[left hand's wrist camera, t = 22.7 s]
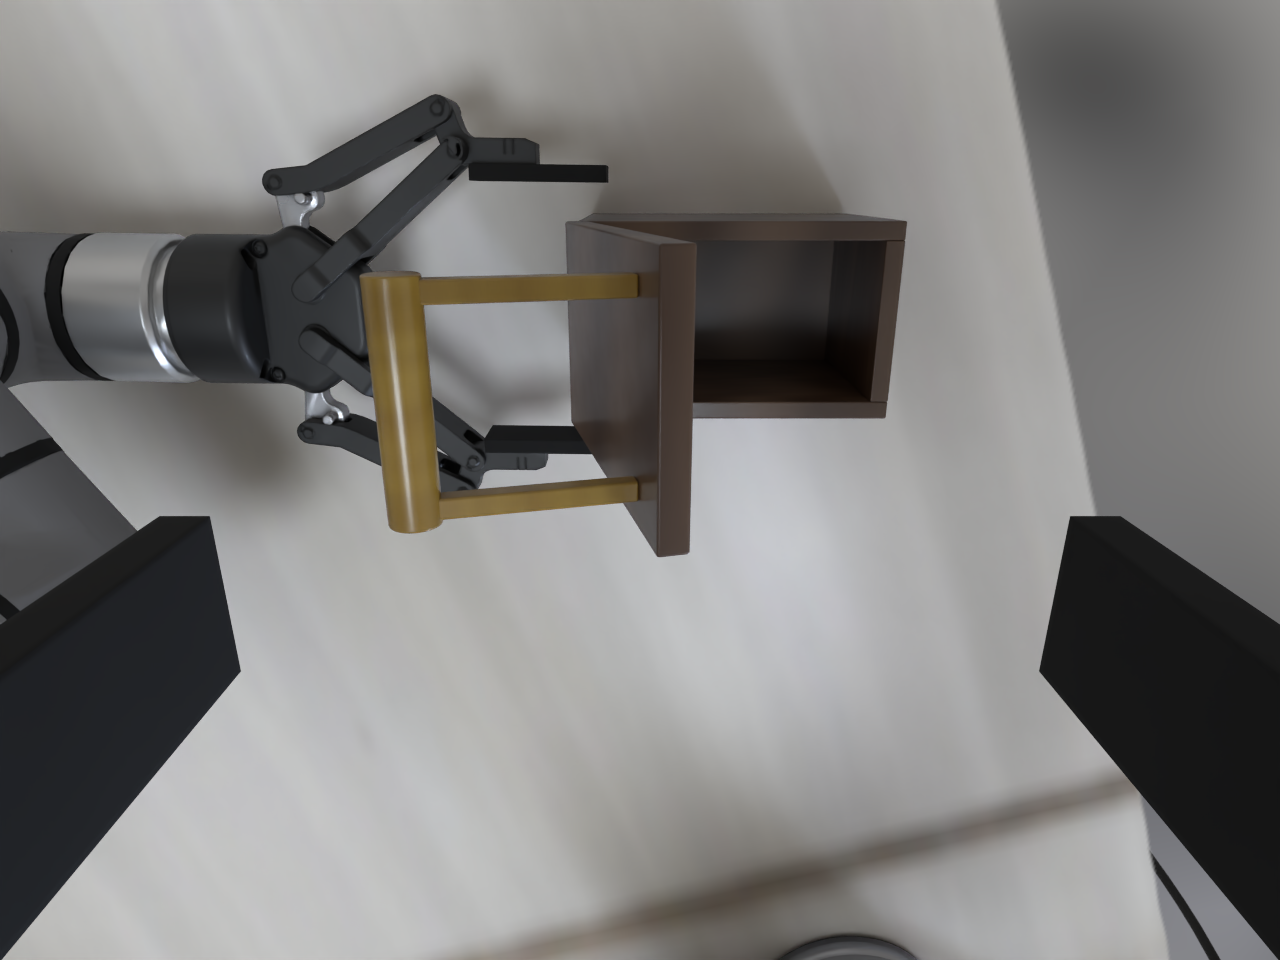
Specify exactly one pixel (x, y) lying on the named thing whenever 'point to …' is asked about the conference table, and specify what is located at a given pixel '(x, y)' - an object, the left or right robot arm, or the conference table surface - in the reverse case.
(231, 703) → the conference table surface
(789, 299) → the chest
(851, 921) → the conference table surface
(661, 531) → the lid
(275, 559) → the conference table surface
